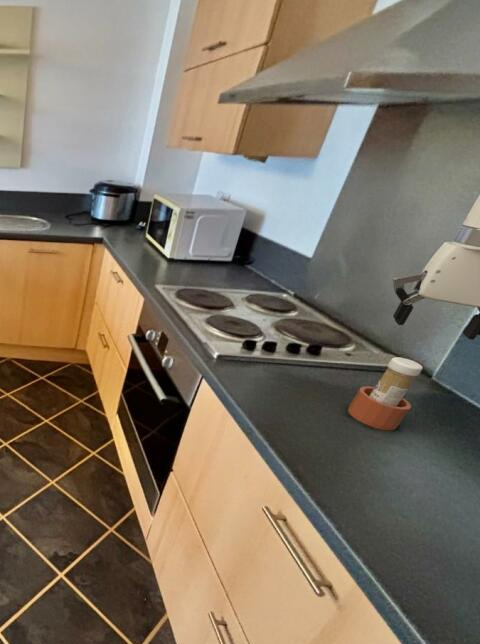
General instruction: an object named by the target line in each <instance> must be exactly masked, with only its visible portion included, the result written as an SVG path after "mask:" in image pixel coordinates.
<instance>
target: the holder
mask: <svg viewBox="0 0 480 644" xmlns="http://www.w3.org/2000/svg"><path fill="white" fill-rule="evenodd" d="M375 387H376V386H369V385H367V386H361V387H360V388H359V389H358V391H357V393H356V394H355V395H354V397H353V399H352V401H351V402H350V404H349V406H348V408H347V412H348V414H349V415H350V416H351V417H353V418H354V419H355V420H357V421H358V422H360V423H362V424H364V425H366V426H369V427H372V428H374V429H378V430H381V431H388V432H389V431H395V430H397V428H398V427H399V425H400V424H401V423H402V421H403V419H404V418H405V417H406V415H407V414H408V413H409V411H410V410H411V408H412V405H411V403H410V402H409V401H408V400H407V399H405V398H404V397H402V399H401V400H400V402H399V403H398V405H397V406H396V407H395V406H390V405H387V404H384V403H381V402H379V401H376V400H374V399H373V398H371V397H369V396H370V394H371V393H372V391H373V390H374V388H375Z"/></svg>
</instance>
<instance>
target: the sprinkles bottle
mask: <svg viewBox="0 0 480 644" xmlns="http://www.w3.org/2000/svg"><path fill="white" fill-rule="evenodd" d="M422 370H423V366H422V365H421V364H420V363H418V362H417V361H415V360H412V359H408V358H405V357H400V356H399V357H397V356H396V357H392V358H391V360H390V361H389V363H388V364H387V369H386V370H385V371H384V373H383V374H382V376H381V377H380V379H379V380H378V382H377V383H376V385H375V386H374V387H375V388H374V390H373V391H372V393H371V394H370V396H369V397H371V398H373V399H374V400H376V401H379V402H381V403H384V404H387V405H390V406H395V407H396V406H397V405H398V403H399V402H400V400H401V399H402V398H404V396H405V395H406V394H407V392H408V390H409V388H410V386H411V385H412V383H413V382H414V380H415V379H416V378H417V377H418V376H420V374H421V372H422Z"/></svg>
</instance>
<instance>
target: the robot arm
mask: <svg viewBox="0 0 480 644" xmlns="http://www.w3.org/2000/svg"><path fill="white" fill-rule="evenodd" d="M408 283H413V286H412V291H409V292H407V291H406V290H405V285H406V284H408ZM392 285H393V291H394V293H395V294H396V296H397V298H398V299H399V300H400V303H399V304H398V305H397V308H396V310H395V311H394V313H393V315H392V317H393V319H394V322H395V323H396V324H397V325H398V326H404V325H405V323H406V321H407V320H408V318H409V316H410V314H411V312H412V311H413V309H414V306H413V304H414V303H417V302H420V301H422V300H425V299H428V300H432V301H433V300H434V301H438V302H445V303H450V304H455V305H460V306H466V307H472V308H476V309H477V311H478V313H476V314H474V315H472V317H471V319H470V320H469V321H468V323H467V325H466V326H465V328H464V329H463V331H462V335H464V336H465V337H466V338H467V339H468V340H472V341H473V340H475V339H476V337H477V336H480V194H479V195H478V196H477V199H476V200H475V202H474V203H473V204H472V206H471V209H470V210H469V212H468V214H467V215H466V217H465V219H464V220H463V222H462V224H461V226H460V228H459V229H458V231H457V233H456V234H455V236H454V238H453V239H452V241H445V242H443V244H442V245H440V246H439V248H438V249H437V250H436V252H434V254H433V256H432V257H431V258H430V259H429V261H428V262H427V263H426V265H425V267H423V269H422V271H421V272H416V273H410V274H405V275H398V276H394V277H393V278H392Z"/></svg>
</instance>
